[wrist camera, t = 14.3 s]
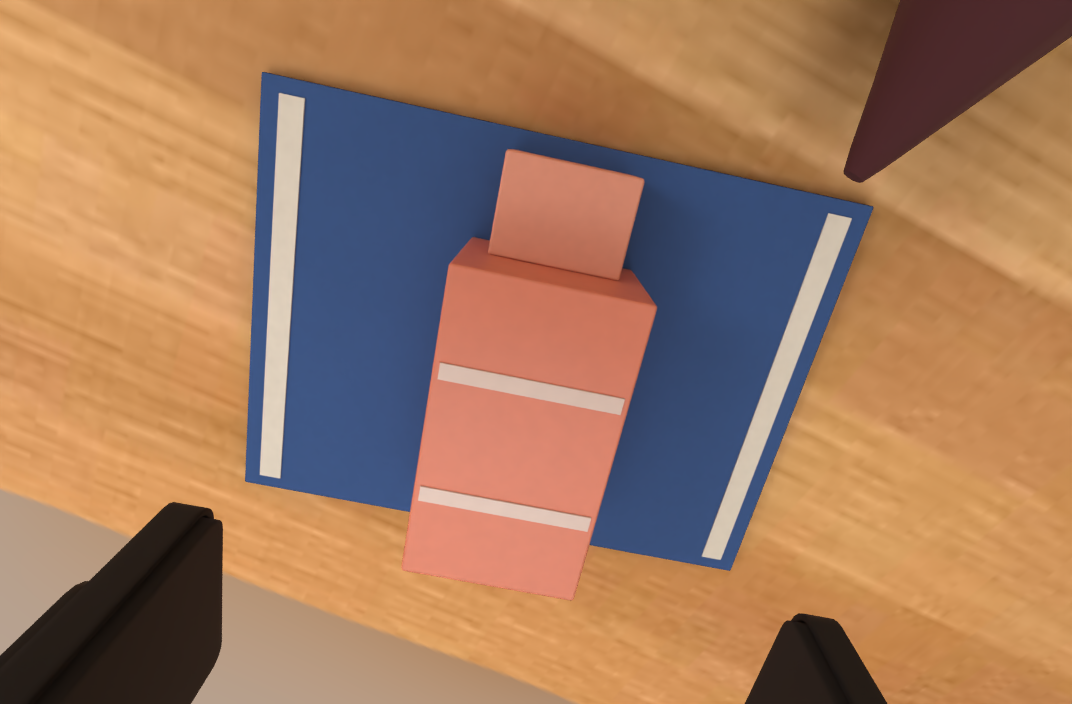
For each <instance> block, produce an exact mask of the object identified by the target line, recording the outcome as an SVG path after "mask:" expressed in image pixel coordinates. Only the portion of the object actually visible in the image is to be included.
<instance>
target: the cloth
mask: <svg viewBox="0 0 1072 704" xmlns="http://www.w3.org/2000/svg"><path fill="white" fill-rule="evenodd" d="M508 149H515V150H520V151H524V152H529V153H533V154H538V155H542V156H547V157H552V158H556V159H561V160H565V161H570V162H574V163H579V164H584V165H588V166H593V167H597V168H602V169H607V170H611V171H616V172H620V173H625V174H629V175H633V176H636V177H640V178H643V179H644V186H643V190H642V194H641V198H640V202H639V205H638V209H637V213H636V217H635V221H634V225H633V229H632V232H631V236H630V240H629V244H628V248H627V252H626V256H625V259H624V263H623V267H622V268H623V269H628V270H631V271H632V272H633V273H634V274H635V276H636V277H637V279H638V280H639V281H640V283H641V284H642V286H643V287H644V289H645V290H646V291H647V293H648V294H649V296H650V297H651V299H652V300H653V301H654V303H655V304H656V306H657V311H656V314H655V318H654V321H653V325H652V328H651V332H650V335H649V339H648V342H647V346H646V349H645V353H644V356H643V360H642V363H641V367H640V370H639V374H638V377H637V381H636V384H635V387H634V391H633V394H632V398H631V401H630V405H629V408H628V412H627V415H626V419H625V422H624V426H623V429H622V433H621V436H620V440H619V443H618V447H617V450H616V454H615V457H614V461H613V464H612V468H611V471H610V475H609V478H608V481H607V485H606V488H605V492H604V495H603V499H602V502H601V506H600V509H599V513H598V516H597V520H596V523H595V527H594V530H593V534H592V537H591V541H590V544H589V545H593V546H598V547H604V548H609V549H615V550H620V551H625V552H631V553H636V554H642V555H647V556H653V557H658V558H663V559H669V560H674V561H680V562H685V563H691V564H696V565H701V566H707V567H712V568H718V569H723V570H729V571H730V570H731V567H732V565H733V562H734V560H735V557H736V555H737V552H738V550H739V547H740V545H741V542H742V540H743V537H744V534H745V532H746V529H747V527H748V524H749V522H750V519H751V517H752V514H753V512H754V509H755V507H756V504H757V502H758V499H759V496H760V494H761V491H762V489H763V486H764V484H765V481H766V479H767V476H768V474H769V471H770V469H771V466H772V463H773V461H774V458H775V456H776V453H777V451H778V448H779V446H780V443H781V441H782V438H783V436H784V433H785V431H786V428H787V425H788V423H789V420H790V418H791V415H792V413H793V410H794V408H795V405H796V403H797V400H798V398H799V395H800V393H801V390H802V387H803V385H804V382H805V380H806V377H807V375H808V372H809V370H810V367H811V365H812V362H813V360H814V357H815V355H816V352H817V349H818V347H819V344H820V342H821V339H822V337H823V334H824V332H825V329H826V327H827V324H828V322H829V319H830V317H831V314H832V311H833V309H834V306H835V304H836V301H837V299H838V296H839V294H840V291H841V289H842V286H843V284H844V281H845V279H846V276H847V273H848V271H849V268H850V266H851V263H852V261H853V258H854V256H855V253H856V251H857V248H858V246H859V243H860V241H861V238H862V235H863V233H864V230H865V228H866V225H867V223H868V220H869V218H870V215H871V213H872V210H873V206H869V205H864V204H860V203H855V202H851V201H846V200H842V199H837V198H833V197H828V196H824V195H819V194H814V193H810V192H805V191H801V190H796V189H792V188H787V187H783V186H778V185H774V184H769V183H765V182H760V181H756V180H751V179H746V178H742V177H737V176H733V175H728V174H724V173H719V172H715V171H710V170H706V169H701V168H697V167H692V166H688V165H683V164H678V163H674V162H669V161H665V160H660V159H656V158H651V157H647V156H642V155H638V154H633V153H629V152H624V151H620V150H615V149H610V148H606V147H601V146H597V145H592V144H588V143H583V142H579V141H574V140H570V139H565V138H561V137H556V136H552V135H547V134H542V133H538V132H533V131H529V130H524V129H520V128H515V127H511V126H506V125H502V124H497V123H493V122H488V121H484V120H479V119H474V118H470V117H465V116H461V115H456V114H452V113H447V112H443V111H438V110H434V109H429V108H425V107H420V106H416V105H411V104H406V103H402V102H397V101H393V100H388V99H384V98H379V97H375V96H370V95H366V94H361V93H357V92H352V91H348V90H343V89H339V88H334V87H329V86H325V85H320V84H316V83H311V82H307V81H302V80H298V79H293V78H289V77H284V76H280V75H275V74H271V73H266V72H262V81H261V105H260V130H259V154H258V179H257V204H256V228H255V253H254V277H253V302H252V326H251V351H250V376H249V400H248V425H247V449H246V474H245V481H246V482H250V483H256V484H261V485H267V486H272V487H277V488H283V489H288V490H294V491H299V492H305V493H310V494H316V495H321V496H326V497H332V498H337V499H343V500H348V501H354V502H359V503H364V504H370V505H375V506H381V507H386V508H392V509H397V510H402V511H408V512H410V509H411V503H412V496H413V490H414V483H415V477H416V471H417V464H418V458H419V451H420V445H421V438H422V432H423V426H424V419H425V413H426V406H427V400H428V394H429V387H430V381H431V374H432V368H433V362H434V355H435V349H436V342H437V336H438V330H439V323H440V317H441V310H442V304H443V298H444V291H445V285H446V278H447V272H448V266H449V264H450V263H451V261H452V260H453V259H454V258H455V257H456V256H457V254H458V253H459V252H460V251H461V250H462V249H463V247H464V246H465V245H466V244H467V243H468V241H469V240H470V239H471V238H472V237H476V238H480V239H485V240H490V238H491V232H492V226H493V221H494V215H495V210H496V204H497V198H498V193H499V187H500V181H501V176H502V170H503V165H504V159H505V153H506V151H507V150H508Z"/></svg>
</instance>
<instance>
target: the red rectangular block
mask: <svg viewBox="0 0 1072 704" xmlns="http://www.w3.org/2000/svg"><path fill="white" fill-rule="evenodd" d="M643 186H644V179H643V178H640V177H636V176H633V175H629V174H625V173H620V172H616V171H611V170H607V169H602V168H597V167H593V166H588V165H584V164H579V163H574V162H570V161H565V160H561V159H556V158H552V157H547V156H542V155H538V154H533V153H529V152H524V151H520V150H515V149H508V150H507V151H506V153H505V159H504V165H503V170H502V176H501V181H500V187H499V193H498V198H497V204H496V210H495V215H494V221H493V226H492V232H491V238H490V240H485V239H480V238H476V237H472V238H471V239H470V240H469V241H468V243H467V244H466V245H465V246H464V247H463V249H462V250H461V251H460V252H459V253H458V254H457V256H456V257H455V258H454V259H453V260H452V261H451V263H450V264H449V266H448V272H447V278H446V285H445V291H444V298H443V304H442V310H441V317H440V323H439V330H438V336H437V342H436V349H435V355H434V362H433V368H432V374H431V381H430V387H429V394H428V400H427V406H426V413H425V419H424V426H423V432H422V438H421V445H420V451H419V458H418V464H417V471H416V477H415V483H414V490H413V496H412V503H411V509H410V515H409V522H408V528H407V535H406V541H405V547H404V554H403V560H402V570H404V571H409V572H415V573H420V574H426V575H432V576H437V577H443V578H448V579H454V580H460V581H465V582H471V583H476V584H482V585H488V586H493V587H499V588H504V589H510V590H516V591H521V592H527V593H532V594H538V595H544V596H549V597H555V598H560V599H566V600H573V599H574V596H575V593H576V589H577V586H578V582H579V579H580V575H581V572H582V569H583V565H584V562H585V558H586V555H587V551H588V548H589V544H590V541H591V537H592V534H593V530H594V527H595V523H596V520H597V516H598V513H599V509H600V506H601V502H602V499H603V495H604V492H605V488H606V485H607V481H608V478H609V475H610V471H611V468H612V464H613V461H614V457H615V454H616V450H617V447H618V443H619V440H620V436H621V433H622V429H623V426H624V422H625V419H626V415H627V412H628V408H629V405H630V401H631V398H632V394H633V391H634V387H635V384H636V381H637V377H638V374H639V370H640V367H641V363H642V360H643V356H644V353H645V349H646V346H647V342H648V339H649V335H650V332H651V328H652V325H653V321H654V318H655V314H656V311H657V306H656V304H655V303H654V301H653V300H652V299H651V297H650V296H649V294H648V293H647V291H646V290H645V289H644V287H643V286H642V284H641V283H640V281H639V280H638V279H637V277H636V276H635V274H634V273H633V272H632V271H631V270H628V269H623V268H622V267H623V263H624V259H625V256H626V252H627V248H628V244H629V240H630V236H631V232H632V229H633V225H634V221H635V217H636V213H637V209H638V205H639V202H640V198H641V194H642V190H643Z"/></svg>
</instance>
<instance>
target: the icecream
mask: <svg viewBox="0 0 1072 704" xmlns="http://www.w3.org/2000/svg"><path fill="white" fill-rule="evenodd" d="M1071 36H1072V0H900V3H899V6H898V9H897V12H896V15H895V18H894V21H893V24H892V27H891V30H890V33H889V36H888V39H887V42H886V45H885V48H884V51H883V54H882V57H881V61H880V64H879V67H878V70H877V73H876V76H875V79H874V82H873V85H872V88H871V91H870V94H869V96H868V99H867V102H866V105H865V108H864V111H863V114H862V116H861V119H860V122H859V125H858V128H857V131H856V134H855V136H854V139H853V142H852V145H851V148H850V151H849V155H848V158H847V161H846V165H845V168H844V174H845V175H846V176H847V177H848V178H850V179H851V180H853V181H856V182H859V183H860V182H864V181H865V180H867V179H868V178H870V177H871V176H873V175H874V174H876V173H878V172H879V171H881V170H882V169H884V168H885V167H887V166H888V165H889V164H891V163H892V162H894V161H895V160H897V159H898V158H899V157H901V156H902V155H904V154H905V153H906V152H908V151H909V150H911V149H912V148H913V147H915V146H916V145H918V144H919V143H921V142H922V141H923V140H925V139H926V138H928V137H929V136H930V135H932V134H933V133H935V132H936V131H937V130H939V129H940V128H942V127H943V126H945V125H946V124H947V123H949V122H950V121H952V120H953V119H954V118H956V117H957V116H959V115H960V114H962V113H963V112H964V111H966V110H967V109H969V108H970V107H972V106H973V105H974V104H976V103H977V102H979V101H980V100H982V99H983V98H984V97H986V96H987V95H989V94H990V93H991V92H993V91H994V90H996V89H997V88H999V87H1000V86H1001V85H1003V84H1004V83H1006V82H1007V81H1009V80H1010V79H1011V78H1013V77H1014V76H1016V75H1017V74H1019V73H1020V72H1021V71H1023V70H1024V69H1026V68H1027V67H1028V66H1030V65H1031V64H1033V63H1034V62H1036V61H1037V60H1038V59H1040V58H1041V57H1043V56H1044V55H1046V54H1047V53H1048V52H1050V51H1051V50H1053V49H1054V48H1056V47H1057V46H1058V45H1060V44H1061V43H1063V42H1064V41H1065V40H1067V39H1068V38H1070V37H1071Z"/></svg>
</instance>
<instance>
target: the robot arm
mask: <svg viewBox="0 0 1072 704" xmlns="http://www.w3.org/2000/svg"><path fill="white" fill-rule="evenodd" d="M222 553H223V526H222V522H221V521H220V520H216V519H214V516H213V512H212V510H211V509H209V508H204V507H198V506H193V505H187V504H181V503H176V502H173V503H169V504H168V505H167V506H165V507H164V508H163V509H162V510H161V511H160V512H159V513H158V514H157V515H156V516H155V517H154V518H153V519H152V520H151V521H150V522H149V523H148V524H147V525H146V526H145V527H144V528H143V529H142V530H141V531H140V532H139V533H138V534H136V535H135V536H134V537H133V538H132V539H131V540H130V541H129V543H127V544H126V545H125V546H124V547H123V548H122V549H121V550H120V551H119V552H118V553H117V554H116V555H115V556H114V557H113V558H112V559H111V560H110V561H109V562H108V563H107V564H106V565H105V566H104V567H103V568H102V569H101V570H100V571H99V572H98V573H97V574H96V575H95V576H94V577H93V578H92V579H91V580H90V581H84V582H82V583H80V584H77V585H75V586H74V587H73V588H71V589H70V590H69V591H68V592H66V593H65V594H64V595H63V596H62V597H61V598H60V599H59V600H58V601H57V602H56V603H55V604H54V605H53V606H51V607H50V608H49V610H47V611H46V612H45V613H44V614H43V615H42V616H41V617H40V618H39V619H38V620H37V621H36V622H35V623H34V624H33V625H32V626H31V627H30V628H29V629H28V630H26V631H25V633H23V634H22V635H21V636H20V637H19V638H18V639H17V640H16V641H15V642H14V643H13V644H12V645H11V646H10V647H9V648H8V649H7V650H6V651H5V652H4V653H2V654H1V655H0V704H191V703H192V701H193V699H194V698H195V696H196V695H197V693H198V691H199V689H200V688H201V686H202V685H203V683H204V682H205V680H206V678H207V677H208V675H209V674H210V672H211V670H212V669H213V667H214V665H215V663H216V660H217V658H218V656H219V652H220V649H221V642H222ZM745 704H887V702H886V701H885V699H884V697H883V695H882V694H881V692H880V690H879V689H878V687H877V685H876V684H875V682H874V680H873V679H872V677H871V675H870V674H869V672H868V670H867V669H866V667H865V665H864V664H863V662H862V660H861V659H860V657H859V655H858V653H857V652H856V650H855V648H854V647H853V645H852V643H851V642H850V640H849V638H848V637H847V635H846V633H845V632H844V630H843V628H842V627H841V626H840V624H839V623H838V622H837V621H835V620H834V619H830V618H825V617H819V616H813V615H808V614H800V613H798V614H797V615H795V616H794V617H793V619H792V620H791V621H786V622H784V624H783V625H782V627H781V629H780V631H779V633H778V635H777V637H776V639H775V642H774V644H773V646H772V648H771V650H770V652H769V654H768V656H767V658H766V660H765V662H764V665H763V667H762V669H761V671H760V673H759V675H758V677H757V679H756V681H755V683H754V686H753V688H752V690H751V692H750V694H749V696H748V698H747V700H746V702H745Z"/></svg>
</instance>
